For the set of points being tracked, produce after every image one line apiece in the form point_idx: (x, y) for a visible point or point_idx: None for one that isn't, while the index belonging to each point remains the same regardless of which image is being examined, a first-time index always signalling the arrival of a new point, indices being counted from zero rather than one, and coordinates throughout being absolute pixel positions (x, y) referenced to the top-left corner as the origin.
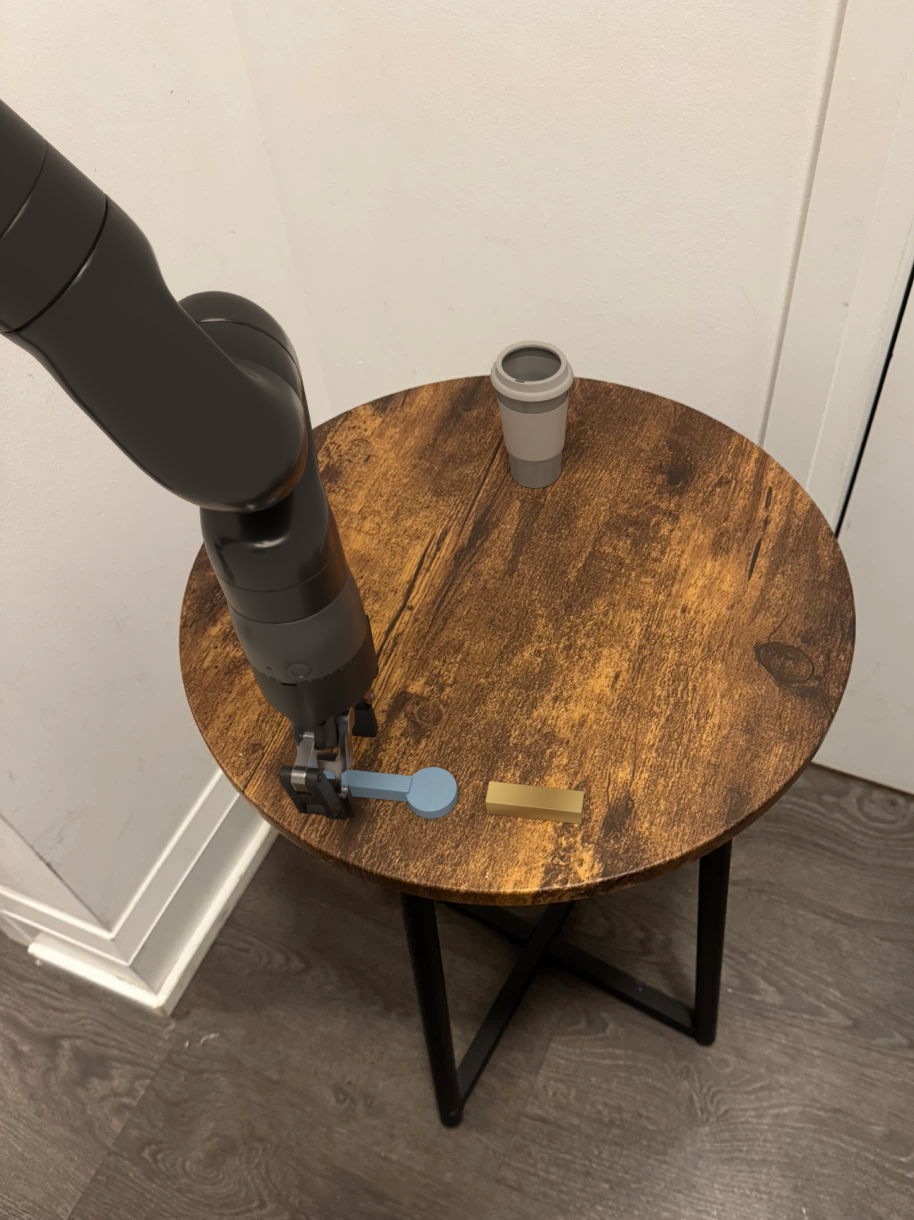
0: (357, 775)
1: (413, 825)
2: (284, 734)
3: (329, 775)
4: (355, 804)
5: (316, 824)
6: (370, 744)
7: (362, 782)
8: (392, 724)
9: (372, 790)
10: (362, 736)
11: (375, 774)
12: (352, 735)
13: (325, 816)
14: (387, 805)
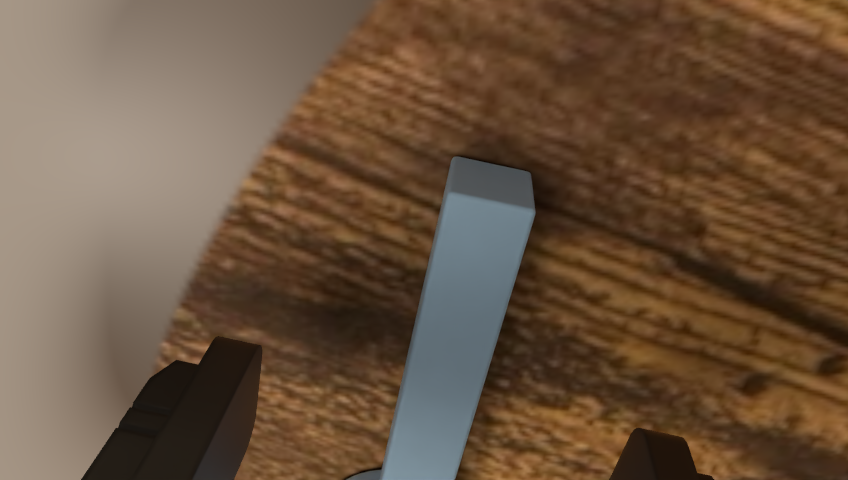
0: (453, 398)
1: (299, 474)
2: (809, 30)
3: (466, 301)
4: (235, 473)
5: (297, 193)
6: (645, 376)
7: (417, 415)
8: (718, 443)
9: (392, 428)
10: (618, 466)
11: (451, 453)
12: (634, 432)
13: (146, 385)
14: (374, 414)
